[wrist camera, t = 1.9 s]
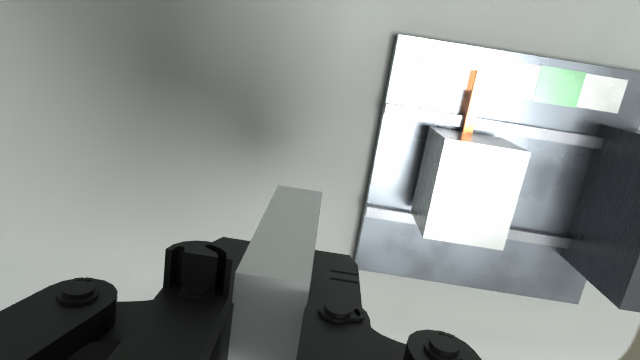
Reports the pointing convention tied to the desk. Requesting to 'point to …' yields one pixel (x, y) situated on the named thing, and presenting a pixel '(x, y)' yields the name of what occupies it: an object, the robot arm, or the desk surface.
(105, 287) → the robot arm
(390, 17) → the desk surface
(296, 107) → the desk surface
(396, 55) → the bench
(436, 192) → the block
